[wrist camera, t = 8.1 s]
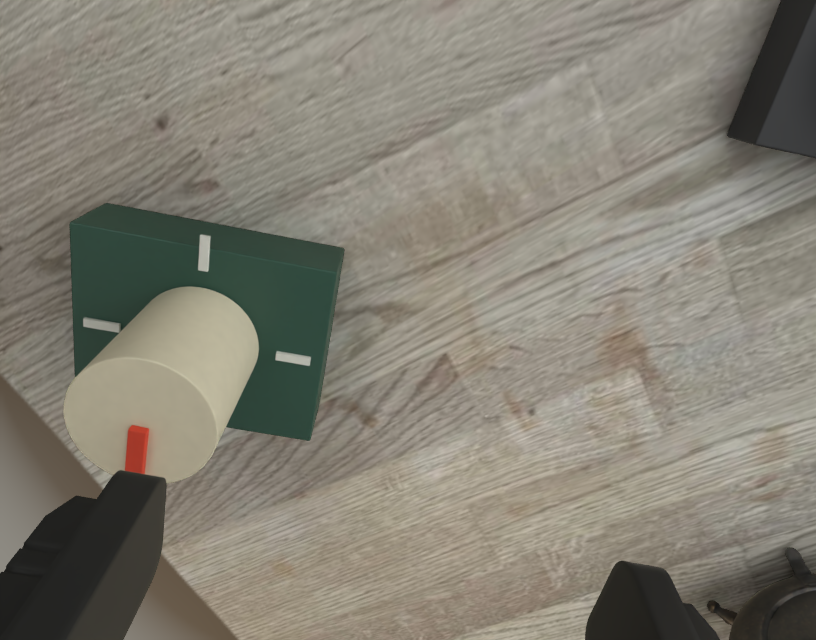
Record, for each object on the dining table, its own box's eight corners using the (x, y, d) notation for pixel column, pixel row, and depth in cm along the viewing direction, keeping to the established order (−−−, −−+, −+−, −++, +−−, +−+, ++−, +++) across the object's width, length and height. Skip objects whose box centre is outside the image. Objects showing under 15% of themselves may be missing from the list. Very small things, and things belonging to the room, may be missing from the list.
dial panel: (107, 377, 29) (73, 415, 26) (105, 190, 25) (66, 210, 22) (317, 412, 29) (307, 452, 26) (346, 236, 26) (338, 261, 23)
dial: (143, 272, 23) (58, 346, 18) (267, 302, 24) (224, 383, 18) (134, 378, 25) (55, 474, 20) (249, 403, 26) (205, 504, 20)
